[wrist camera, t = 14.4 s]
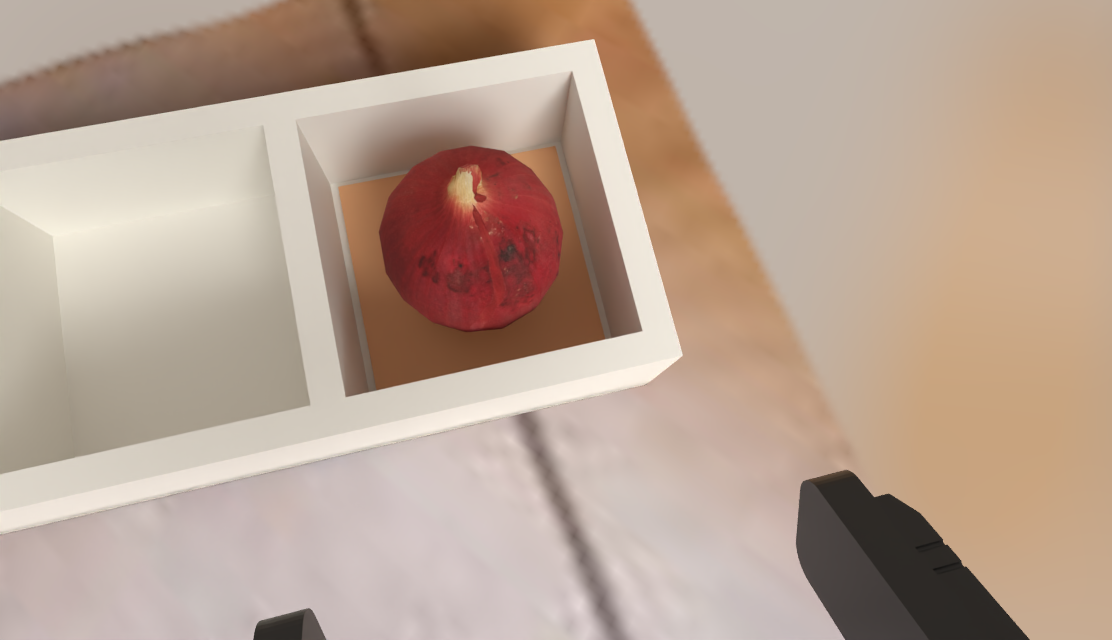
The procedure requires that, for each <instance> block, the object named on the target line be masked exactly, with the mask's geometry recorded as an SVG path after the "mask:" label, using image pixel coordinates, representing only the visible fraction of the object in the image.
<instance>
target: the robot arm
mask: <svg viewBox="0 0 1112 640" xmlns="http://www.w3.org/2000/svg"><path fill="white" fill-rule="evenodd" d="M796 548H797V553H798V558H799V561H800V564H801V567H802V569H803V571H804V574H805V576H806V578H807V579H808V581H809V583H810V584H811V586H812V587H813V589H814V591H815V592H816V594H817V595H818V597H819V599H820V600H821V602H822V603H823V605H824V607H825V608H826V610H827V611H828V613H829V615H830V616H831V618H832V619H833V621H834V622H835V624H836V626H837V627H838V629H839V630H840V632H841V634H842V635H843V637H844V638H845V640H1029V638H1028V637H1027V636H1026V635H1025V634H1024V633H1023V631H1022V630H1021V629H1020V628H1019V627H1018V626H1017V625H1016V623H1015V622H1014V621H1013V620H1012V619H1011V618H1010V616H1009V615H1008V614H1007V613H1006V612H1005V611H1004V610H1003V608H1002V607H1001V606H1000V605H999V604H998V603H997V601H996V600H995V599H994V598H993V597H992V596H991V594H990V593H989V592H988V591H987V590H986V589H985V588H984V586H983V585H982V584H981V583H980V582H979V581H978V579H977V578H976V577H975V576H974V575H973V574H972V573H971V571H970V570H969V569H968V568H967V567H964V566H963V565H962V563H961V560H960V559H959V558H958V556H957V555H956V554H955V553H954V552H953V551H952V550H951V548H950V547H949V546H948V545H945V544H944V543H943V539H942V538H941V537H940V536H939V535H938V533H937V532H936V531H935V530H934V529H933V527H932V526H931V525H930V524H929V523H928V522H927V521H926V519H925V518H924V517H923V516H922V515H921V514H920V513H919V512H917V511H916V510H914V509H913V508H911V507H909V506H908V505H906V504H905V503H903V502H901V501H900V500H898V499H897V498H895V497H894V496H892V495H890V494H885V495H881V496H878V497H873V495H872V494H871V493H870V492H869V491H868V489H867V488H866V487H865V486H864V484H863V483H862V482H861V481H860V480H859V478H858V477H857V476H856V475H855V474H854V473H852V472H851V471H848V470H844V471H840V472H836V473H832V474H828V475H824V476H821V477H817V478H813V479H809V480H805V481H803V483H802V485H801V489H800V500H799V512H798V524H797V536H796ZM253 640H326V638H325V636H324V634H323V632H322V630H321V627H320V625H319V623H318V621H317V619H316V617H315V615H314V613H313V611H312V610H311V609H309V608H308V609H304V610H300V611H296V612H292V613H289V614H285V615H281V616H277V617H273V618H269V619H266V620H262V621H259V623H258V624H257V626H256V629H255V633H254V639H253Z"/></svg>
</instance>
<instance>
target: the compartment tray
mask: <svg viewBox="0 0 1112 640" xmlns="http://www.w3.org/2000/svg"><path fill="white" fill-rule="evenodd" d="M466 146H478V147H484V148H490V149H497V150H503V151H505V152H507V153H508V154H510V155H511V156H513V157H514V158H516V159H517V160H519V161H520V162H522V163H523V164H524V165H526V166H527V167H529V168H530V169H532V170H533V172H534V173H535V174H536V176H537V177H538V178H539V179H540V181H541V182H542V183H543V184H544V186H545V187H546V188H547V189H548V191H549V192H550V193H551V194H552V196H553V198H554V200H555V203H556V207H557V211H558V215H559V218H560V222H561V226H562V229H563V239H562V248H561V256H560V265H559V273H558V276H557V278H556V279H555V281H554V282H553V284H552V285H551V287H550V288H549V290H548V291H547V293H546V294H545V296H544V297H543V299H542V300H541V302H540V303H539V305H538V306H537V307H536V308H535V309H534V310H533V311H531V312H530V313H528V314H526V315H525V316H523V317H521V318H520V319H518V320H516V321H515V322H513V323H511V324H510V325H508V326H506V327H505V328H503V329H497V330H486V331H476V332H463V331H460V330H456V329H453V328H449V327H446V326H442V325H439V324H435V323H433V322H431V321H430V320H428V319H427V318H426V317H425V316H423V315H422V314H421V313H419V312H418V311H417V310H416V309H414V308H413V307H412V306H410V305H409V304H408V303H407V302H405V301H404V300H403V299H402V297H401V296H400V294H399V293H398V291H397V289H396V288H395V286H394V285H393V283H392V282H391V280H390V279H389V277H388V275H387V274H386V271H385V265H384V259H383V254H382V248H381V242H380V236H379V229H380V225H381V222H382V218H383V215H384V211H385V208H386V204H387V201H388V198H389V196H390V194H391V193H392V192H393V190H394V189H395V188H396V187H397V186H398V184H399V183H400V182H401V181H402V179H403V178H404V177H405V176H406V175H407V173H408V172H409V171H410V170H411V168H412V167H413V166H415V165H417V164H419V163H420V162H422V161H424V160H426V159H427V158H429V157H431V156H433V155H434V154H436V153H438V152H440V151H444V150H449V149H455V148H460V147H466ZM682 356H683V354H682V351H681V347H680V344H679V340H678V337H677V333H676V330H675V326H674V322H673V319H672V315H671V312H670V308H669V305H668V301H667V297H666V294H665V290H664V287H663V283H662V280H661V276H660V272H659V269H658V265H657V262H656V258H655V255H654V251H653V247H652V244H651V240H650V237H649V233H648V230H647V226H646V222H645V219H644V215H643V212H642V208H641V205H640V201H639V197H638V194H637V190H636V187H635V183H634V180H633V176H632V172H631V169H630V165H629V162H628V158H627V155H626V151H625V148H624V144H623V140H622V137H621V133H620V130H619V126H618V123H617V119H616V115H615V112H614V108H613V105H612V101H611V98H610V94H609V90H608V87H607V83H606V80H605V76H604V73H603V69H602V65H601V62H600V58H599V55H598V51H597V48H596V44H595V40H594V39H592V40H587V41H581V42H575V43H569V44H563V45H557V46H552V47H546V48H540V49H534V50H528V51H522V52H517V53H511V54H505V55H499V56H493V57H487V58H482V59H476V60H470V61H464V62H458V63H452V64H447V65H441V66H435V67H429V68H423V69H417V70H412V71H406V72H400V73H394V74H388V75H382V76H377V77H371V78H365V79H359V80H353V81H347V82H342V83H336V84H330V85H324V86H318V87H312V88H307V89H301V90H295V91H289V92H283V93H277V94H272V95H266V96H260V97H254V98H248V99H242V100H237V101H231V102H225V103H219V104H213V105H207V106H201V107H196V108H190V109H184V110H178V111H172V112H166V113H161V114H155V115H149V116H143V117H137V118H131V119H126V120H120V121H114V122H108V123H102V124H96V125H91V126H85V127H79V128H73V129H67V130H61V131H56V132H50V133H44V134H38V135H32V136H26V137H21V138H15V139H9V140H3V141H0V535H2V534H6V533H10V532H14V531H19V530H23V529H27V528H32V527H36V526H40V525H45V524H49V523H53V522H58V521H62V520H66V519H70V518H75V517H79V516H83V515H88V514H92V513H96V512H101V511H105V510H109V509H114V508H118V507H122V506H126V505H131V504H135V503H139V502H144V501H148V500H152V499H157V498H161V497H165V496H169V495H174V494H178V493H182V492H187V491H191V490H195V489H200V488H204V487H208V486H213V485H217V484H221V483H225V482H230V481H234V480H238V479H243V478H247V477H251V476H256V475H260V474H264V473H268V472H273V471H277V470H281V469H286V468H290V467H294V466H299V465H303V464H307V463H312V462H316V461H320V460H324V459H329V458H333V457H337V456H342V455H346V454H350V453H355V452H359V451H363V450H367V449H372V448H376V447H380V446H385V445H389V444H393V443H398V442H402V441H406V440H411V439H415V438H419V437H423V436H428V435H432V434H436V433H441V432H445V431H449V430H454V429H458V428H462V427H466V426H471V425H475V424H479V423H484V422H488V421H492V420H497V419H501V418H505V417H510V416H514V415H518V414H522V413H527V412H531V411H535V410H540V409H544V408H548V407H553V406H557V405H561V404H565V403H570V402H574V401H578V400H583V399H587V398H591V397H596V396H600V395H604V394H609V393H613V392H617V391H621V390H626V389H630V388H634V387H639V386H643V385H646V384H647V383H649V382H650V381H651V380H652V379H654V378H655V377H656V376H657V375H659V374H660V373H661V372H663V371H664V370H665V369H666V368H668V367H669V366H670V365H671V364H673V363H674V362H675V361H677V360H678V359H679V358H680V357H682Z"/></svg>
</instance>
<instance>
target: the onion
mask: <svg viewBox="0 0 1112 640" xmlns="http://www.w3.org/2000/svg"><path fill="white" fill-rule="evenodd" d="M379 236H380V242H381V248H382V254H383V259H384V265H385V271H386V274H387V275H388V277H389V279H390V280H391V282H392V283H393V285H394V286H395V288H396V289H397V291H398V293H399V294H400V296H401V297H402V299H403V300H404V301H405V302H407V303H408V304H409V305H410V306H412V307H413V308H414V309H416V310H417V311H418V312H419V313H421V314H422V315H423V316H425V317H426V318H427V319H428V320H430V321H431V322H433V323H435V324H439V325H442V326H446V327H449V328H453V329H456V330H460V331H463V332H476V331H486V330H497V329H503V328H505V327H506V326H508V325H510V324H511V323H513V322H515V321H516V320H518V319H520V318H521V317H523V316H525V315H526V314H528V313H530V312H531V311H533V310H534V309H535V308H536V307H537V306H538V305H539V303H540V302H541V300H542V299H543V297H544V296H545V294H546V293H547V291H548V290H549V288H550V287H551V285H552V284H553V282H554V281H555V279H556V278H557V276H558V273H559V265H560V256H561V248H562V239H563V229H562V226H561V222H560V218H559V215H558V211H557V207H556V203H555V200H554V198H553V196H552V194H551V193H550V192H549V191H548V189H547V188H546V187H545V186H544V184H543V183H542V182H541V181H540V179H539V178H538V177H537V176H536V174H535V173H534V172H533V170H532V169H530V168H529V167H527V166H526V165H524V164H523V163H522V162H520V161H519V160H517V159H516V158H514V157H513V156H511V155H510V154H508V153H507V152H505V151H503V150H497V149H490V148H484V147H478V146H466V147H460V148H455V149H449V150H444V151H440V152H438V153H436V154H434V155H433V156H431V157H429V158H427V159H426V160H424V161H422V162H420V163H419V164H417V165H415V166H413V167H412V168H411V170H410V171H409V172H408V173H407V175H406V176H405V177H404V178H403V179H402V181H401V182H400V183H399V184H398V186H397V187H396V188H395V189H394V190H393V192H392V193H391V194H390V196H389V198H388V201H387V204H386V208H385V211H384V215H383V218H382V222H381V225H380V229H379Z"/></svg>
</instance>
